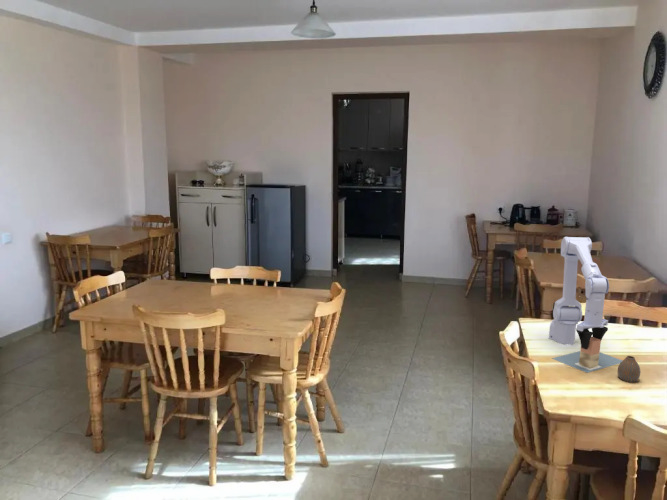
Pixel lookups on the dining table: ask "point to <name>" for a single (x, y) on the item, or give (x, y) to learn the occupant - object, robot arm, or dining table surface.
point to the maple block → (588, 360)
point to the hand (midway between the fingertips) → (590, 347)
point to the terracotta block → (592, 346)
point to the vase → (629, 369)
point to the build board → (573, 361)
